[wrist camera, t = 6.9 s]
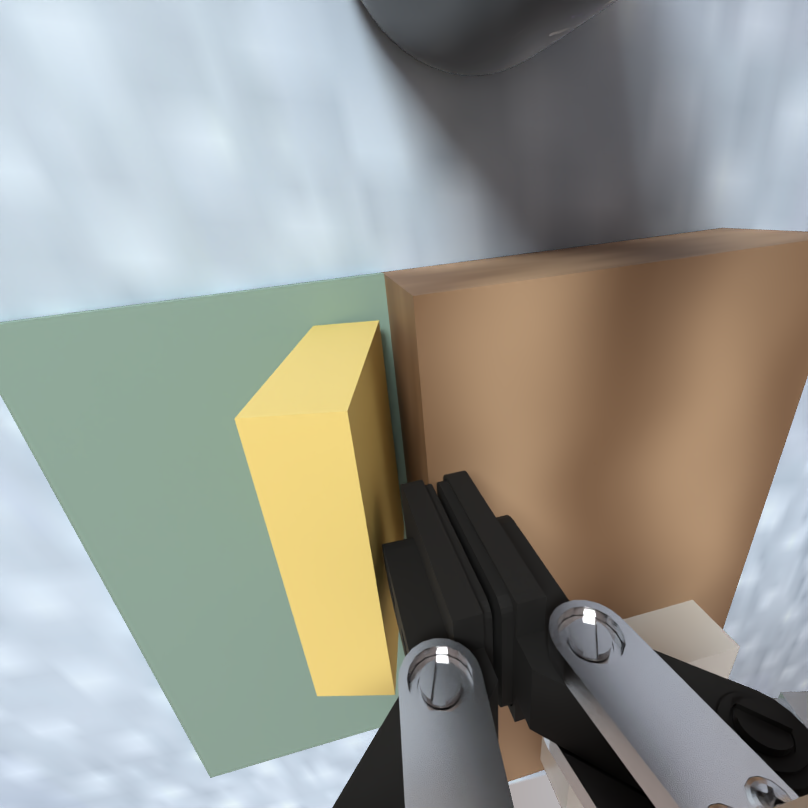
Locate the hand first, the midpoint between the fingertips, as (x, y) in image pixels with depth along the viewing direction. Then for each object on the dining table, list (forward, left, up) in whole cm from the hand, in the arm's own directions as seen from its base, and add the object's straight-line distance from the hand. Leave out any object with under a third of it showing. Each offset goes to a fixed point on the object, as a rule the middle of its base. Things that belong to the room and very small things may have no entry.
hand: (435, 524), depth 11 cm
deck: (-6, +5, -5) cm, 10 cm away
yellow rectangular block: (+1, 0, -1) cm, 2 cm away
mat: (+5, +5, -5) cm, 9 cm away
